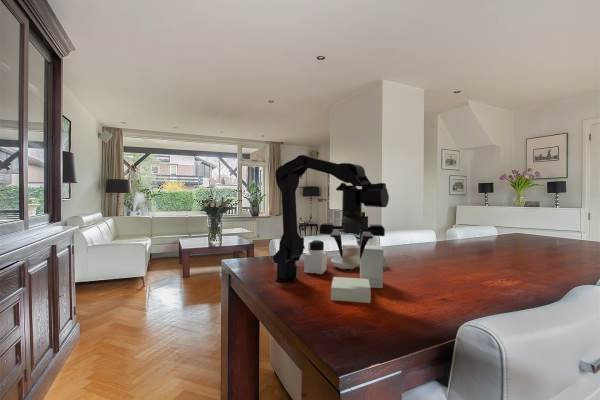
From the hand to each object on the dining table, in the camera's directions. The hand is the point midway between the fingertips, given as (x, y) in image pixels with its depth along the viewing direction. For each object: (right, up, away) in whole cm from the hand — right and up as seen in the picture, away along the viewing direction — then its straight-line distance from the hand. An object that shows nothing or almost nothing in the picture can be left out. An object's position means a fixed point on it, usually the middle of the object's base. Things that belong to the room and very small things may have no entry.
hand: (350, 258), depth 89 cm
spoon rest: (+9, -11, +35) cm, 37 cm away
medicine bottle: (-9, -11, +27) cm, 30 cm away
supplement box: (+9, -11, +11) cm, 18 cm away
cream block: (0, -2, 0) cm, 2 cm away
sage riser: (0, -12, 0) cm, 12 cm away
